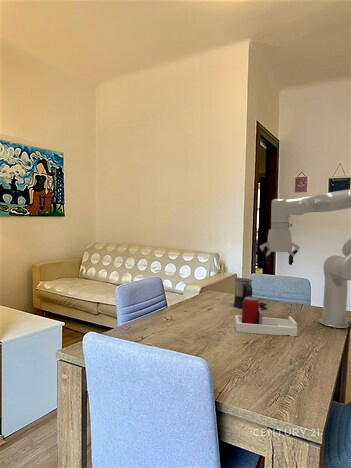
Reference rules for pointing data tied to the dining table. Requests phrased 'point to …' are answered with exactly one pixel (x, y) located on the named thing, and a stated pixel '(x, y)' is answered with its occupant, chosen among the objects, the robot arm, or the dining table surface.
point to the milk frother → (243, 291)
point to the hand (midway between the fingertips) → (279, 264)
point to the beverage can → (250, 310)
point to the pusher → (261, 319)
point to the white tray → (268, 326)
